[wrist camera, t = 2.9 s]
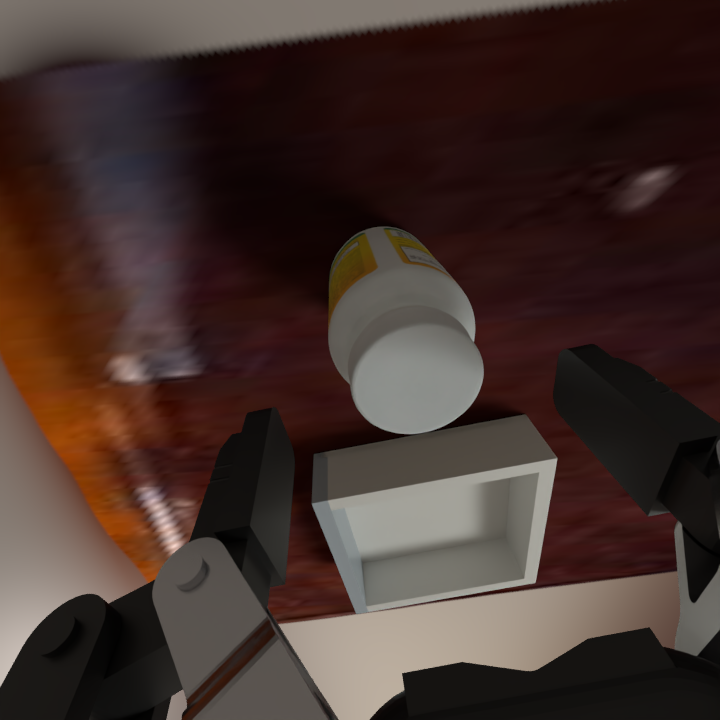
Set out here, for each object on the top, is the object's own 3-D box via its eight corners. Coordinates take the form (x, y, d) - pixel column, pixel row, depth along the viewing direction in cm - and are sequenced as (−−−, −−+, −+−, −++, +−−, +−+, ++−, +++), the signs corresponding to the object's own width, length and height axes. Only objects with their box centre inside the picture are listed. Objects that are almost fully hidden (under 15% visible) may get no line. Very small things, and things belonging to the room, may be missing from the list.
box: (525, 414, 24) (557, 458, 21) (513, 536, 32) (535, 582, 29) (313, 454, 25) (311, 503, 21) (353, 565, 33) (356, 614, 29)
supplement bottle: (426, 214, 17) (517, 281, 9) (432, 314, 20) (506, 434, 12) (317, 236, 17) (308, 320, 9) (339, 332, 20) (347, 462, 12)
